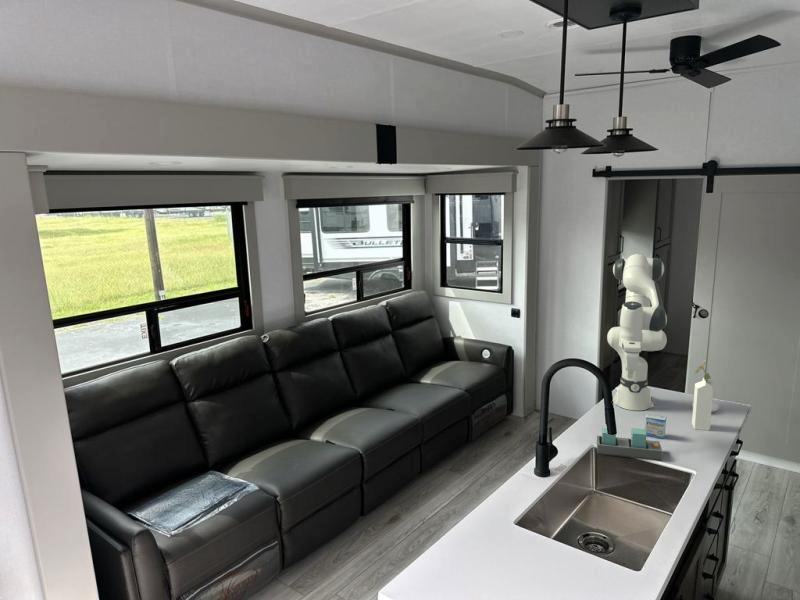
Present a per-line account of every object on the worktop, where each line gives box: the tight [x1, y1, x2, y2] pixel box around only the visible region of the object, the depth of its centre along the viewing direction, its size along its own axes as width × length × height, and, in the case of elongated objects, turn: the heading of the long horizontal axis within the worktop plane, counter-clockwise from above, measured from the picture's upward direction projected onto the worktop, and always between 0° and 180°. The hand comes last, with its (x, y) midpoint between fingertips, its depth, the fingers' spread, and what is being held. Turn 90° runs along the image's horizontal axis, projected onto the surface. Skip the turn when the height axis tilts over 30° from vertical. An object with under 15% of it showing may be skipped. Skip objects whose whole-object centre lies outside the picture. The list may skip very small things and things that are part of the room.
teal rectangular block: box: [601, 427, 617, 446], centre depth 227 cm, size 5×5×8 cm
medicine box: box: [644, 413, 667, 440], centre depth 238 cm, size 8×4×9 cm, turn 62°
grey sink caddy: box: [596, 427, 663, 461], centre depth 225 cm, size 9×24×10 cm, turn 73°
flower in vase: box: [691, 359, 720, 413], centre depth 260 cm, size 13×11×25 cm
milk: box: [691, 377, 714, 431], centre depth 243 cm, size 6×6×22 cm
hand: (628, 373), depth 231 cm, fingers open, 8 cm apart
